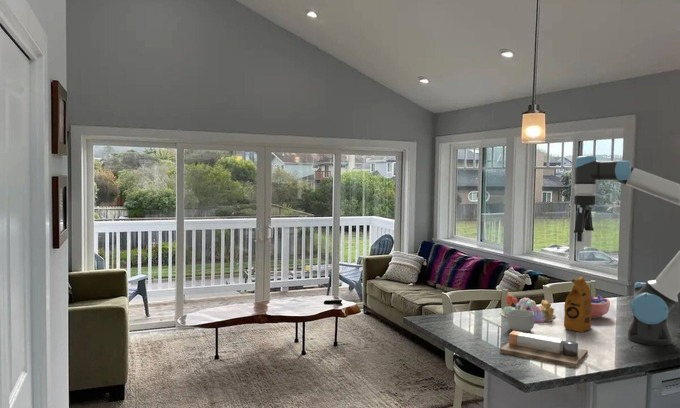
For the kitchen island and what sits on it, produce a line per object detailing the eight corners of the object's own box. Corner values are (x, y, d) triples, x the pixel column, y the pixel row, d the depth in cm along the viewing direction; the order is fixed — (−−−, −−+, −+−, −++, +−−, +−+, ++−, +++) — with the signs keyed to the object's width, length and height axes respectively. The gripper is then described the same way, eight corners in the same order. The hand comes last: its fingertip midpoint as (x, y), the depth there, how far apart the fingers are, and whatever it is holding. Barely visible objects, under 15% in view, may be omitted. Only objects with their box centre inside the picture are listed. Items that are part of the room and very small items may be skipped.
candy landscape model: (551, 312, 251) (552, 293, 251) (560, 324, 228) (561, 304, 228) (498, 309, 257) (498, 291, 256) (502, 321, 234) (502, 301, 233)
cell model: (618, 317, 240) (619, 293, 240) (595, 324, 229) (596, 298, 228) (584, 310, 254) (584, 287, 254) (560, 316, 243) (561, 292, 242)
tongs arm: (560, 352, 184) (561, 341, 184) (559, 354, 182) (559, 342, 182) (511, 342, 195) (511, 332, 194) (509, 344, 193) (509, 333, 193)
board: (587, 354, 187) (587, 350, 187) (576, 368, 173) (576, 363, 173) (516, 341, 203) (516, 337, 203) (500, 352, 188) (500, 348, 188)
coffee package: (559, 328, 221) (560, 278, 220) (571, 323, 229) (572, 274, 229) (583, 333, 214) (584, 281, 213) (594, 328, 222) (595, 277, 221)
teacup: (535, 335, 211) (536, 316, 210) (508, 333, 213) (508, 314, 213) (530, 326, 224) (530, 308, 224) (504, 324, 226) (504, 306, 226)
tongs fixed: (579, 354, 183) (579, 342, 182) (575, 357, 179) (576, 345, 178) (513, 341, 197) (513, 330, 197) (508, 344, 193) (509, 333, 193)
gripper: (581, 194, 216) (580, 244, 217) (567, 195, 196) (565, 250, 197) (601, 194, 211) (600, 246, 212) (588, 195, 191) (587, 251, 192)
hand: (583, 248), depth 204 cm, fingers open, 13 cm apart
